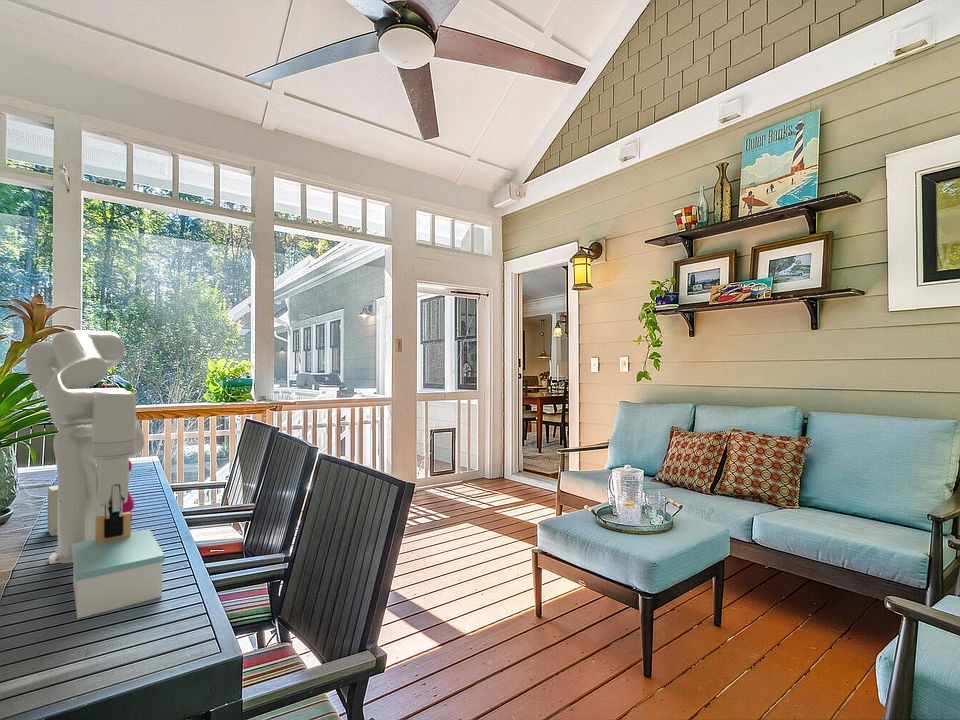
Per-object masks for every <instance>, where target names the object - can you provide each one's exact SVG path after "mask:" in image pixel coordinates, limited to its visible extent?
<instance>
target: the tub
mask: <svg viewBox="0 0 960 720" xmlns="http://www.w3.org/2000/svg"><path fill="white" fill-rule="evenodd" d="M72 567H73V569H72V570H73V571H72V573H73V574H72V575H73V579H72V580H73V581H72V584H73V585H72V586H73V594H74V602H75V609H76V617H77V620H78V619H82V618H86V617H89V616H92V615H93V616H94V615H96V614H101V613H104V612H105V613H106V612H108V611H113V610H117V609H120V608H124V607H128V606H131V605H136V604H139V603H143V602H148V601H150V600H156V599H159V598H162V597H163V562H159V563H155V564H150V565H146V566H141V567H137V568H132V569H127V570H123V571H118V572H114V573H109V574H105V575H100V576H96V577H91V578H87V579H82V580H78V581H76V579H75V571H74V564H73V566H72Z"/></svg>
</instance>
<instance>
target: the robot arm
mask: <svg viewBox="0 0 960 720" xmlns="http://www.w3.org/2000/svg"><path fill="white" fill-rule="evenodd" d="M125 350H126V348H125V343H124V341H123V339H122V338H121V336H120V335H119V334H118V333H115V332H113V331H107V330H106V331H104V330H103V331H102V330H80V329H77V330H76V329H74V330H72V329H71V330H66V331H65V330H64V331H62V332H60V333H58V334H57V335H55V336H54V337H53V339H52V340H49V341H40V342H37V343H34V344H32V345H31V346H30V347H28V349H26V352H25V357H24V361H25V362H24V363H25V368H26V369H25V370H26V371H27V372H26V373H27V374H31V375H28V377H29V379H30V381H31V382H32V384H33V383H34V384H33V386H34V387H35V389H37V390H38V392H39V393H40V394H41V395H42V396H43V398H44V400H45V403H46V406H47V408H48V411H49V415H50V417H51V420H52V423H53V426H54V427H55V428H56V429H57V432H56V433H55V436H54V437H53V445H52V446H53V452H54V458H55V464H56V469H57V470H56V471H57V486H58V535H57V550H56V551H54V552H53V553H51V554H50V555H49V556H48V563H49V564H50V565H54V564H70V563H73V556H72V543H78V542H83V541H89V540H94V539H95V517H99V516H105V515H106V519H104V537H105V538H109V537H115V536H120V535H122V534H123V516H122V506H123V503H126V502H127V499H128V491H129V483H130V482H129V480H130V479H129V478H130V476H129V474H130V471H129V460H130V459H131V458H134V457H136V456H138V455H140V454H141V453H142V451H143V449H144V446H145V436H144V432H143V429H142V426H141V425H140V422H139V420H138V418H137V416H136V415H137V411H136V409H137V407H136V406H137V399H136V395H135V394H134V392H132V391H129V390H127V389H125V388H122V387H104V388H102V387H101V388H100V387H98V388H97V387H95V388H92V387H93V386H95V385H97V384H98V383H100V382H101V381H102V380H104V378H106V375H108V371H109V370H110V369H112V368H114V367H115V366H117V365H118V364H119V363H121V362H122V360H123V358H124V357H125V353H126V351H125ZM40 386H41V387H40Z"/></svg>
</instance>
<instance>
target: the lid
mask: <svg viewBox="0 0 960 720" xmlns="http://www.w3.org/2000/svg"><path fill="white" fill-rule="evenodd" d="M131 514H132V513H131V512H124V513H122V516H123V534H122V535H120V536H115V537H109V538H105V537H104V519H106V515H105V516H99V517H95V539H94V540H89V541H83V542H78V543H72V556H73V562H72V563H73V564H74V571H75V579H76V581H78V580H82V579H87V578H91V577H96V576H100V575H105V574H109V573H114V572H118V571H123V570H127V569H132V568H137V567H141V566H146V565H150V564H155V563H159V562H162V563H163V562H165V554H164V552H163V550H162V548H161V546H160V545H159V544H158V542H157V540H156V538H155V536H154V535H153V533H152V531H151V530H150V529H144V530H139V531H134V532H131V528H132V523H131V522H132V520H131Z"/></svg>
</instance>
